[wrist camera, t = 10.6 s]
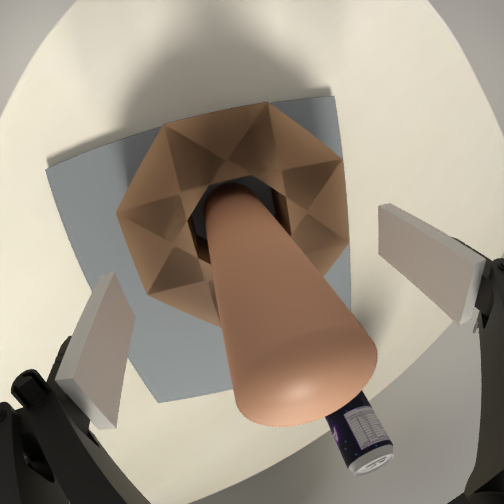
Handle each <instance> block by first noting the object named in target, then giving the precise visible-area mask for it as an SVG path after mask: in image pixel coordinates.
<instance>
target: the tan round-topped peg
mask: <svg viewBox="0 0 504 504" xmlns="http://www.w3.org/2000/svg"><path fill="white" fill-rule="evenodd" d="M203 210H204V219H205V227H206V234H207V241H208V247H209V254H210V261H211V267H212V274H213V280H214V286H215V292H216V298H217V304H218V310H219V316H220V322H221V327H222V333H223V339H224V344H225V350H226V355H227V360H228V365H229V371H230V376H231V381H232V386H233V391H234V396H235V401H236V404H237V407H238V409H239V411H240V412H241V413H242V414H243V415H244V416H245V417H246V418H247V419H249V420H251V421H253V422H255V423H258V424H261V425H265V426H272V427H288V426H296V425H301V424H305V423H309V422H312V421H315V420H318V419H320V418H323V417H325V416H327V415H329V414H331V413H333V412H335V411H337V410H338V409H340V408H341V407H343V406H344V405H346V404H347V403H348V402H350V401H351V400H352V399H353V398H354V397H355V396H357V395H358V394H359V393H360V391H361V390H362V389H363V388H364V387H365V386H366V384H367V383H368V381H369V380H370V378H371V376H372V375H373V373H374V370H375V367H376V364H377V349H376V346H375V344H374V342H373V340H372V339H371V338H370V336H369V335H368V334H367V332H366V331H365V330H364V328H363V327H362V326H361V325H360V323H359V322H358V321H357V319H356V318H355V317H354V315H353V314H352V313H351V312H350V310H349V309H348V308H347V306H346V305H345V304H344V303H343V301H342V300H341V299H340V297H339V296H338V295H337V294H336V292H335V291H334V290H333V289H332V287H331V286H330V285H329V284H328V282H327V281H326V280H325V279H324V277H323V276H322V275H321V274H320V272H319V271H318V270H317V269H316V267H315V266H314V265H313V264H312V262H311V261H310V260H309V259H308V257H307V256H306V255H305V254H304V253H303V251H302V250H301V249H300V248H299V246H298V245H297V244H296V243H295V242H294V240H293V239H292V238H291V237H290V236H289V234H288V233H287V232H286V231H285V230H284V228H283V227H282V226H281V225H280V224H279V222H278V221H277V220H276V219H275V218H274V216H273V215H272V214H271V213H270V212H269V211H268V209H267V208H266V207H265V206H264V205H263V203H262V202H261V201H260V200H259V199H258V198H257V196H256V195H255V194H254V193H253V192H252V191H251V190H250V189H249V188H248V187H246V186H244V185H242V184H239V183H225V184H222V185H219V186H218V187H216V188H215V189H213V190H212V191H211V192H210V193H209V195H208V196H207V198H206V200H205V203H204V209H203Z"/></svg>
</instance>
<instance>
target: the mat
mask: <svg viewBox="0 0 504 504" xmlns="http://www.w3.org/2000/svg"><path fill="white" fill-rule="evenodd" d="M270 104H271V105H273V106H274V107H275V108H277V109H278V110H280V111H281V112H283V113H284V114H285V115H287V116H288V117H289V118H291V119H292V120H294V121H295V122H296V123H298V124H299V125H300V126H302V127H303V128H304V129H306V130H307V131H308V132H310V133H311V134H312V135H313V136H315V137H316V138H317V139H319V140H320V141H321V142H322V143H324V144H325V145H326V146H327V147H329V148H330V149H331V150H332V151H333V152H335V153H336V154H337V155H338V156H339V157H341V158H342V159H343V154H342V146H341V138H340V131H339V124H338V117H337V110H336V104H335V98H334V96H327V97H316V98H306V99H297V100H289V101H282V102H275V103H270ZM162 127H163V126H162ZM162 127H159V128H156V129H152V130H149V131H146V132H142V133H139V134H136V135H133V136H130V137H127V138H124V139H121V140H118V141H115V142H112V143H109V144H107V145H104V146H101V147H98V148H96V149H93V150H91V151H88V152H85V153H83V154H80V155H78V156H76V157H73V158H71V159H68V160H66V161H64V162H61V163H59V164H57V165H54V166H52V167H50V168H48V169H46V170H45V171H46V174H47V178H48V181H49V184H50V187H51V191H52V194H53V197H54V200H55V203H56V206H57V209H58V211H59V214H60V217H61V220H62V223H63V225H64V228H65V230H66V233H67V236H68V238H69V241H70V243H71V246H72V248H73V250H74V253H75V255H76V258H77V260H78V262H79V265H80V267H81V269H82V271H83V273H84V276H85V278H86V280H87V282H88V284H89V286H90V288H91V290H92V292H93V290H94V288H95V286H96V284H97V282H98V280H99V278H100V276H101V275H104V274H108V273H112V272H115V274H116V277H117V279H118V281H119V284H120V286H121V288H122V290H123V293H124V295H125V297H126V299H127V301H128V303H129V305H130V308H131V310H132V312H133V314H134V316H135V318H136V319H135V323H134V328H133V332H132V337H131V342H130V347H129V352H128V358H129V360H130V361H131V363H132V365H133V366H134V368H135V369H136V371H137V373H138V374H139V376H140V377H141V379H142V380H143V382H144V383H145V385H146V386H147V388H148V389H149V391H150V392H151V394H152V395H153V396H154V398H155V399H156V401H157V402H158V403H162V402H168V401H174V400H180V399H186V398H192V397H197V396H202V395H207V394H212V393H217V392H221V391H226V390H230V389H233V386H232V381H231V376H230V371H229V365H228V360H227V355H226V350H225V344H224V339H223V333H222V328H220V327H218V326H216V325H213V324H211V323H208V322H206V321H204V320H201V319H199V318H197V317H194V316H192V315H190V314H188V313H185V312H183V311H181V310H179V309H176V308H174V307H172V306H170V305H168V304H165V303H163V302H161V301H159V300H157V299H155V298H152V297H150V296H148V295H147V294H146V291H145V289H144V287H143V284H142V282H141V279H140V277H139V275H138V272H137V270H136V267H135V264H134V262H133V259H132V257H131V254H130V252H129V249H128V246H127V243H126V241H125V238H124V235H123V232H122V230H121V227H120V224H119V221H118V218H117V215H116V211H117V209H118V207H119V205H120V203H121V201H122V199H123V197H124V195H125V193H126V191H127V189H128V187H129V185H130V183H131V181H132V179H133V178H134V176H135V174H136V172H137V170H138V168H139V166H140V165H141V163H142V161H143V159H144V157H145V156H146V154H147V152H148V150H149V149H150V147H151V145H152V144H153V142H154V140H155V138H156V137H157V135H158V133H159V132H160V130H161V129H162ZM343 167H344V163H343ZM344 177H345V173H344ZM225 183H239V184H242V185H244V186H246V187H248V188H249V189H250V190H251V191H252V192H253V193H254V194H255V195H256V196H257V198H258V199H259V200H260V201H261V202H262V203H263V205H264V206H265V207H266V208H267V209H268V211H269V212H270V213H271V214H272V215H273V216H274V217H275V209H274V203H273V197H272V192H271V187H270V186H269V185H267V184H266V183H264V182H262V181H261V180H259V179H258V178H256V177H255V176H253V175H249V176H244V177H240V178H235V179H231V180H227V181H223V182H219V183H214V184H210V185H209V186H208V188H207V189H206V191H205V192H204V194H203V196H202V197H201V199H200V200H199V202H198V204H197V205H196V207H195V209H194V210H193V212H192V213H191V215H192V218H193V222H194V226H195V229H196V233H197V235H199V236H201V237H202V238H204V239H206V240H207V234H206V227H205V219H204V210H203V209H204V203H205V200H206V198H207V196H208V195H209V193H210V192H211V191H212V190H213V189H215V188H216V187H218V186H219V185H222V184H225ZM345 188H346V183H345ZM346 199H347V195H346ZM347 213H348V207H347ZM348 229H349V222H348ZM324 279H325V280H326V281H327V282H328V284H329V285H330V286H331V287H332V289H333V290H334V291H335V292H336V294H337V295H338V296H339V297H340V299H341V300H342V301H343V303H344V304H345V305H346V306H347V308H348V309H349V310H350V312H351V272H350V241H349V244H348V245H347V247H346V248H345V249H344V251H343V252H342V253H341V255H340V256H339V257H338V259H337V260H336V261H335V263H334V264H333V265H332V267H331V268H330V269H329V271H328V272H327V273H326V274H325V276H324Z"/></svg>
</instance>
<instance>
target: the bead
mask: <svg viewBox="0 0 504 504" xmlns="http://www.w3.org/2000/svg"><path fill="white" fill-rule="evenodd" d="M249 175H253V176H255V177H256V178H258V179H259V180H261V181H262V182H264V183H266V184H267V185H269V186H270V187H271V192H272V197H273V203H274V209H275V217H274V218H275V219H276V220H277V221H278V222H279V224H280V225H281V226H282V227H283V228H284V230H285V231H286V232H287V233H288V234H289V236H290V237H291V238H292V239H293V240H294V242H295V243H296V244H297V245H298V246H299V248H300V249H301V250H302V251H303V253H304V254H305V255H306V256H307V257H308V259H309V260H310V261H311V262H312V264H313V265H314V266H315V267H316V269H317V270H318V271H319V272H320V274H321V275H322V276H323V277H324V276H325V274H326V273H327V272H328V271H329V269H330V268H331V267H332V265H333V264H334V263H335V261H336V260H337V259H338V257H339V256H340V255H341V253H342V252H343V251H344V249H345V248H346V247H347V245H348V244H349V229H348V213H347V199H346V188H345V177H344V167H343V159H342V158H341V157H339V156H338V155H337V154H336V153H335V152H333V151H332V150H331V149H330V148H329V147H327V146H326V145H325V144H324V143H322V142H321V141H320V140H319V139H317V138H316V137H315V136H313V135H312V134H311V133H310V132H308V131H307V130H306V129H304V128H303V127H302V126H300V125H299V124H298V123H296V122H295V121H294V120H292V119H291V118H289V117H288V116H287V115H285V114H284V113H283V112H281V111H280V110H278V109H277V108H275V107H274V106H273V105H271V104H270V103H268V102H264V103H258V104H252V105H246V106H241V107H236V108H230V109H225V110H221V111H216V112H211V113H207V114H203V115H198V116H194V117H190V118H186V119H182V120H178V121H175V122H171V123H167V124H164V125H163V127H162V129H161V130H160V132H159V133H158V135H157V137H156V138H155V140H154V142H153V144H152V145H151V147H150V149H149V150H148V152H147V154H146V156H145V157H144V159H143V161H142V163H141V165H140V166H139V168H138V170H137V172H136V174H135V176H134V178H133V179H132V181H131V183H130V185H129V187H128V189H127V191H126V193H125V195H124V197H123V199H122V201H121V203H120V205H119V207H118V209H117V211H116V215H117V218H118V221H119V224H120V227H121V230H122V232H123V235H124V238H125V241H126V243H127V246H128V249H129V252H130V254H131V257H132V259H133V262H134V264H135V267H136V270H137V272H138V275H139V277H140V279H141V282H142V284H143V287H144V289H145V291H146V294H147V295H148V296H150V297H152V298H155V299H157V300H159V301H161V302H163V303H165V304H168V305H170V306H172V307H174V308H176V309H179V310H181V311H183V312H185V313H188V314H190V315H192V316H194V317H197V318H199V319H201V320H204V321H206V322H208V323H211V324H213V325H216V326H218V327H220V328H222V327H221V322H220V316H219V310H218V304H217V298H216V292H215V286H214V280H213V274H212V267H211V261H210V254H209V247H208V241H207V240H206V239H204V238H202V237H201V236H199V235H197V233H196V229H195V226H194V222H193V218H192V215H191V213H192V212H193V210H194V209H195V207H196V205H197V204H198V202H199V200H200V199H201V197H202V196H203V194H204V192H205V191H206V189H207V188H208V186H209V185H210V184H214V183H219V182H223V181H227V180H231V179H235V178H240V177H244V176H249Z"/></svg>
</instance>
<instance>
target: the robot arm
mask: <svg viewBox="0 0 504 504" xmlns="http://www.w3.org/2000/svg"><path fill="white" fill-rule="evenodd" d="M378 220H379V255H380V256H381V257H383V258H384V259H385V260H386V261H387V262H388V263H390V264H391V265H392V266H393V267H394V268H396V269H397V270H398V271H399V272H400V273H401V274H403V275H404V276H405V277H406V278H407V279H408V280H410V281H411V282H412V283H413V284H414V285H415V286H416V287H417V288H419V289H420V290H421V291H422V292H423V293H424V294H425V295H426V296H428V297H429V298H430V299H431V300H432V301H433V302H434V303H435V304H436V305H437V306H438V307H440V308H441V309H442V310H443V311H444V312H445V313H446V314H447V315H448V316H449V317H450V318H451V319H452V320H453V321H454V322H456V323H457V324H458V325H461V324H463V323H465V322H466V321H468V320H470V319H471V317H472V314H473V310H474V307H476V308H477V309H478V310H480V311H479V314H478V318H477V321H476V324H475V327H474V330H473V333H475V332H476V329H477V328H478V327H479V336H480V348H481V349H480V350H481V372H482V396H481V419H480V432H479V442H478V451H477V458H476V463H475V467H474V470H473V472H472V473H471V475H470V477H469V479H468V482H467V484H466V487H465V491H464V493H462V494H461V495H460V496H458V497H456V498H455V499H453V500H452V501H451V502H449V503H448V504H504V259H503V258H498V259H495V260H494V261H491V260H490V259H488V258H487V257H485V256H484V255H482V254H481V253H479V252H478V251H476V250H474V249H471V247H470V246H468V245H465V243H463V242H462V241H460V240H458V239H456V238H453V237H450V236H448V235H447V234H445V233H443V232H442V231H440V230H438V229H437V228H435V227H433V226H431V225H430V224H428V223H426V222H424V221H422V220H421V219H419V218H417V217H415V216H413V215H411V214H410V213H408V212H406V211H404V210H402V209H400V208H398V207H396V206H395V205H393V204H391V203H389V204H384V205H380V206H378ZM135 319H136V318H135V316H134V314H133V312H132V310H131V308H130V305H129V303H128V301H127V299H126V297H125V295H124V293H123V290H122V288H121V286H120V284H119V281H118V279H117V277H116V274H115V272H112V273H108V274H104V275H101V276H100V278H99V280H98V282H97V284H96V286H95V288H94V290H93V292H92V294H91V296H90V298H89V300H88V302H87V304H86V306H85V308H84V311H83V313H82V315H81V317H80V319H79V321H78V324H77V326H76V328H75V330H74V333H73V335H72V336H69V337H68V338H67V339H66V340H65V341H64V343H63V344H62V345H61V347H60V350H59V352H58V356H57V357H56V359H55V363H54V364H53V367H52V369H51V372H50V374H49V377H48V379H47V382H45V380H44V379H43V378H42V377H41V375H40V374H39V373H38V372H37V371H36V370H34V369H30V370H26V371H24V372H23V373H21V374H20V375H19V376H18V377H17V378H16V379H15V381H14V382H13V384H12V387H11V394H12V395H13V396H14V397H15V398H16V399H17V400H18V402H19V403H20V404H21V405H22V406H23V408H20V409H17V410H14V409H13V408H12V407H11V405H10V404H9V403H8V402H1V403H0V504H69V502H70V504H151V503H150V502H149V501H148V500H147V499H146V498H145V497H144V496H143V495H142V494H141V493H140V491H139V490H138V489H137V488H136V487H135V486H134V485H133V484H132V483H131V481H130V480H129V479H128V478H127V477H126V476H125V474H124V473H123V472H122V471H121V470H120V468H119V467H118V466H117V465H116V463H115V462H114V461H113V460H112V458H111V457H110V456H109V455H108V453H107V452H106V451H105V449H104V448H103V447H102V445H101V444H100V442H99V441H98V440H97V438H96V437H95V435H94V434H93V433H92V432H91V431H90V430H89V424H90V421H91V422H92V423H93V424H94V425H95V426H96V427H97V428H98V429H116V427H117V419H118V412H119V405H120V398H121V391H122V385H123V379H124V373H125V368H126V362H127V357H128V352H129V347H130V342H131V337H132V332H133V328H134V323H135Z"/></svg>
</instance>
